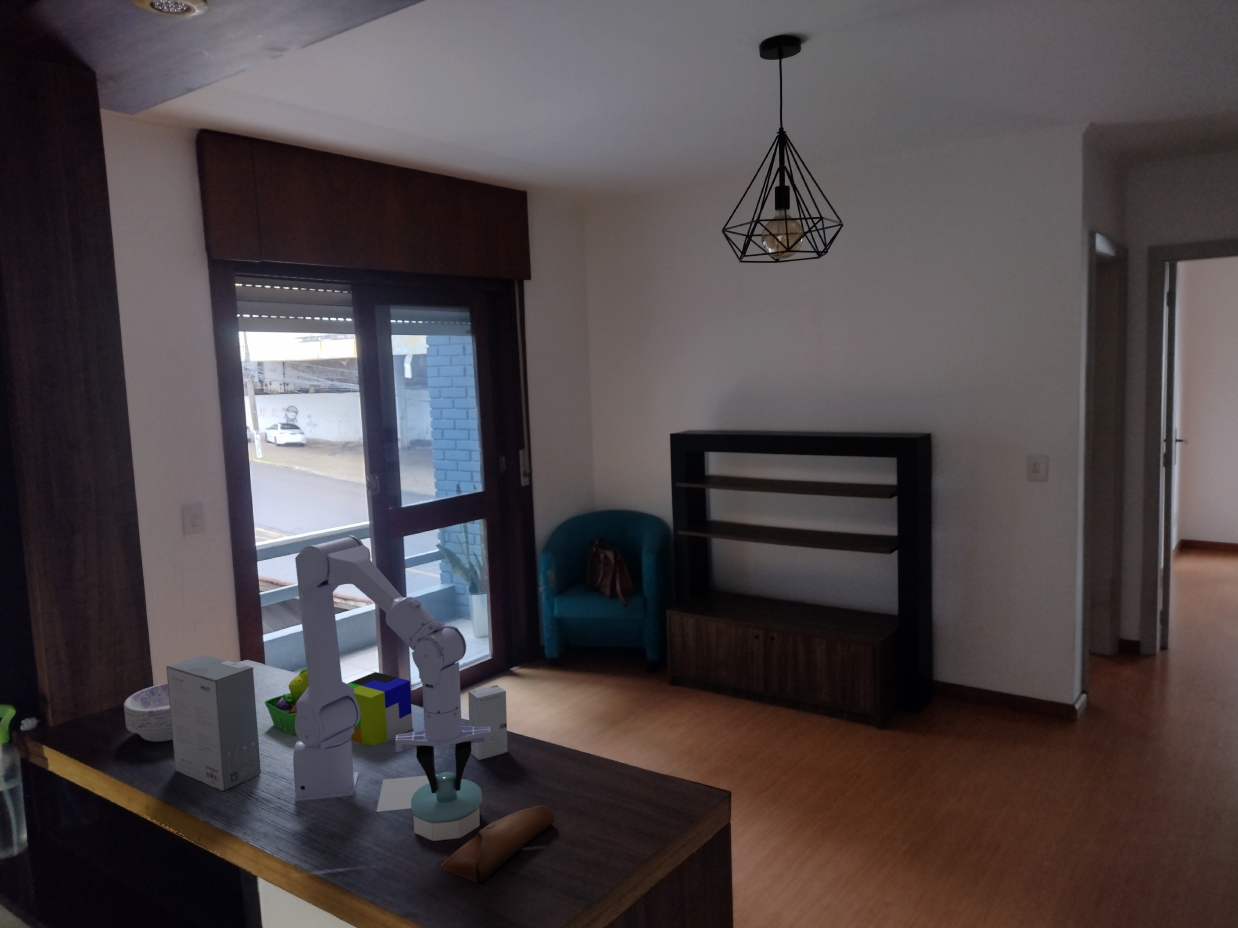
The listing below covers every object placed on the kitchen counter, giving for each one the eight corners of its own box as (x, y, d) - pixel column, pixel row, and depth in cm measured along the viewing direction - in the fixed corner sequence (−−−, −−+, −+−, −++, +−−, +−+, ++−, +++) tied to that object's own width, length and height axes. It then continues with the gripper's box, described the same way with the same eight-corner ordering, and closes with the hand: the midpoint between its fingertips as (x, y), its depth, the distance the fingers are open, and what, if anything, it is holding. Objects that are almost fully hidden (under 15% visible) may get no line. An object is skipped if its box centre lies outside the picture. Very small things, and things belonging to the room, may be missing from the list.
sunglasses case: (512, 811, 140) (527, 782, 137) (543, 841, 137) (559, 813, 135) (435, 868, 124) (452, 837, 122) (469, 904, 122) (486, 873, 119)
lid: (412, 826, 130) (410, 801, 129) (410, 787, 140) (409, 764, 140) (485, 815, 133) (484, 790, 132) (478, 778, 143) (477, 754, 142)
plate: (376, 813, 140) (376, 811, 140) (383, 781, 151) (383, 779, 151) (445, 806, 142) (445, 804, 142) (447, 775, 153) (447, 773, 153)
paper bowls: (161, 754, 163) (158, 714, 162) (109, 740, 170) (106, 702, 169) (228, 723, 177) (226, 686, 176) (178, 711, 183) (175, 676, 182)
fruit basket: (264, 724, 176) (260, 671, 175) (304, 711, 183) (301, 659, 181) (292, 740, 168) (288, 684, 167) (333, 725, 175) (330, 671, 174)
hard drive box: (263, 774, 154) (255, 667, 152) (223, 792, 148) (214, 681, 146) (212, 754, 163) (204, 652, 160) (172, 770, 156) (163, 665, 154)
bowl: (413, 844, 131) (412, 826, 130) (417, 811, 141) (416, 793, 140) (479, 837, 132) (479, 818, 132) (479, 804, 142) (478, 787, 142)
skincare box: (478, 761, 158) (476, 698, 156) (469, 752, 161) (466, 690, 160) (509, 752, 161) (507, 690, 160) (498, 744, 165) (496, 683, 163)
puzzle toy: (412, 728, 173) (410, 680, 172) (373, 747, 164) (371, 697, 163) (377, 718, 178) (375, 671, 177) (338, 736, 170) (335, 687, 169)
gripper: (392, 720, 129) (396, 806, 131) (489, 712, 131) (493, 796, 133) (396, 702, 136) (400, 783, 138) (488, 694, 138) (491, 775, 140)
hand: (446, 788), depth 136 cm, fingers closed on lid, 3 cm apart
